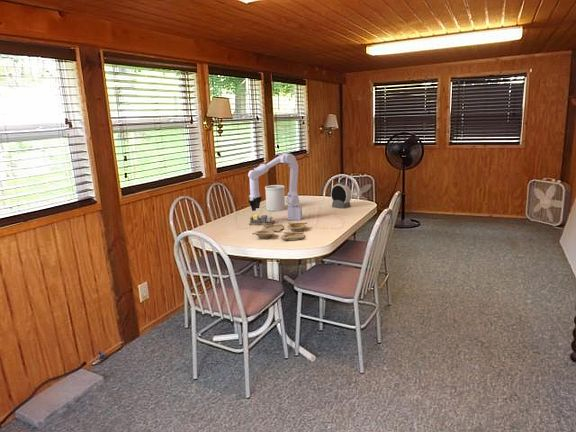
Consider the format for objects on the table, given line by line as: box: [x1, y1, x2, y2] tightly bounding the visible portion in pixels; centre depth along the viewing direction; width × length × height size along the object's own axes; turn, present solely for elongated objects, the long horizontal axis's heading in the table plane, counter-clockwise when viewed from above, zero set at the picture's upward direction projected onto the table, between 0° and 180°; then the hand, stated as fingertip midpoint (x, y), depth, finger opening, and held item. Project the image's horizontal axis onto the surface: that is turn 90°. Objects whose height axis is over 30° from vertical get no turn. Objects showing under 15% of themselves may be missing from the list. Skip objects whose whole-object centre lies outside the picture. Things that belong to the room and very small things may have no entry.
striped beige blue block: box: [265, 216, 274, 222], centre depth 274 cm, size 7×3×3 cm, turn 77°
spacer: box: [252, 214, 260, 220], centre depth 275 cm, size 3×4×4 cm
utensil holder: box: [264, 184, 286, 212], centre depth 316 cm, size 15×15×18 cm
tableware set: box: [251, 221, 308, 241], centre depth 249 cm, size 35×29×4 cm
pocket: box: [249, 215, 261, 223], centre depth 275 cm, size 7×7×4 cm
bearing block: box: [259, 214, 268, 223], centre depth 274 cm, size 3×6×4 cm, turn 167°
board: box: [248, 219, 276, 226], centre depth 275 cm, size 15×10×1 cm
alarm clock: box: [330, 182, 352, 209], centre depth 314 cm, size 16×10×18 cm, turn 42°
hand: (255, 209), depth 274 cm, fingers open, 7 cm apart
